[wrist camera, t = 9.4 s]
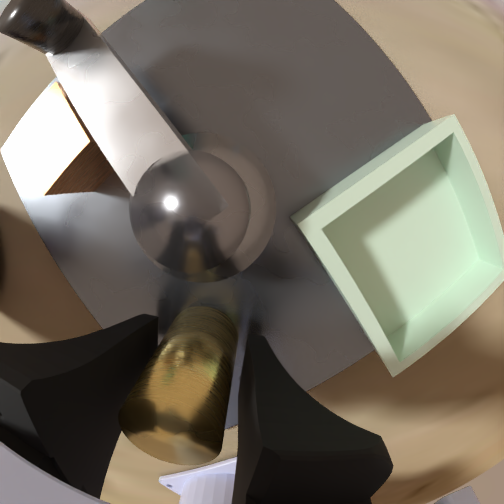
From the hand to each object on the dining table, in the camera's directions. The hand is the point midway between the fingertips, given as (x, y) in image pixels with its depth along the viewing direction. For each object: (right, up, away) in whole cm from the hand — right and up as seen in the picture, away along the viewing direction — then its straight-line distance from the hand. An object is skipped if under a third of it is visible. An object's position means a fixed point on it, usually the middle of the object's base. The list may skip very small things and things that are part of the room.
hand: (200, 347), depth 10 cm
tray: (+8, +4, 0) cm, 9 cm away
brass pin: (0, 0, +1) cm, 1 cm away
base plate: (+1, +6, 0) cm, 7 cm away
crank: (-2, +8, -3) cm, 9 cm away
